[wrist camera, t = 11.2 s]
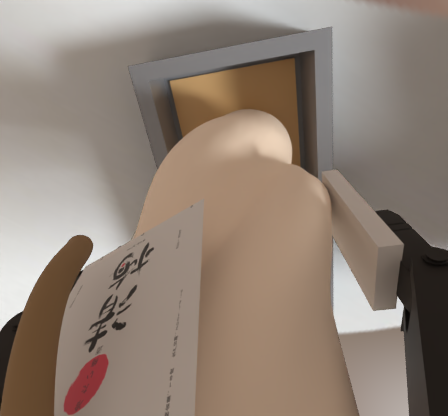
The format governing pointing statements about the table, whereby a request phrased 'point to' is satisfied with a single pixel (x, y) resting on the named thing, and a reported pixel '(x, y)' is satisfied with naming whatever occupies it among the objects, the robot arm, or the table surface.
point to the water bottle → (195, 295)
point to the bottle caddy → (245, 94)
